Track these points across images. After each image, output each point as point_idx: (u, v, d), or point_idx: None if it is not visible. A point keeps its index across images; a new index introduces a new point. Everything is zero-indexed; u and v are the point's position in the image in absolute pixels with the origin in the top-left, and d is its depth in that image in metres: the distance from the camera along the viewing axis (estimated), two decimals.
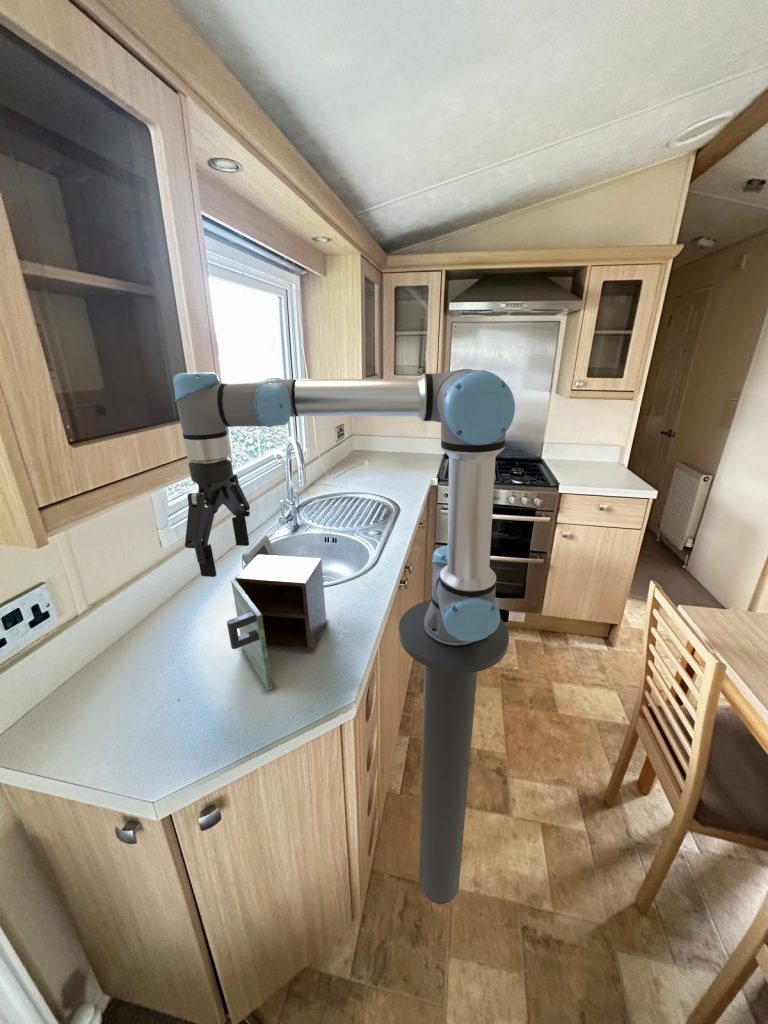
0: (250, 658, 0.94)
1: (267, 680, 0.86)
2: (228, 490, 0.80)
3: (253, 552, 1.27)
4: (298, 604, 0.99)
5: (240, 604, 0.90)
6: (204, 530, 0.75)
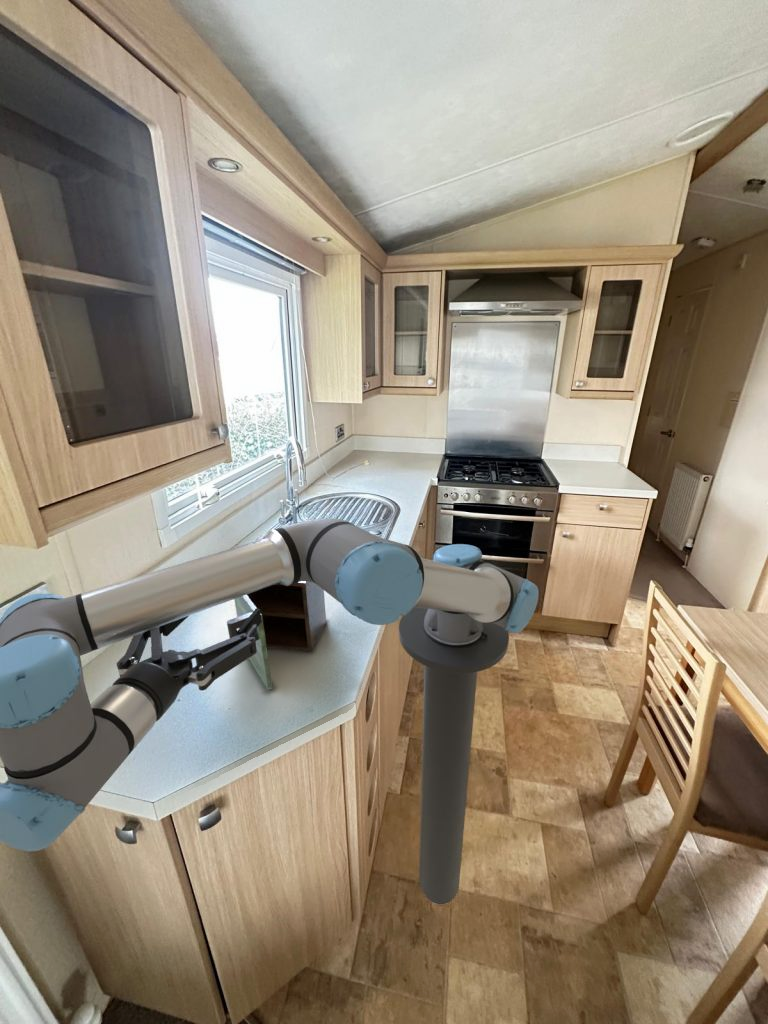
0: (250, 658, 0.94)
1: (267, 680, 0.86)
2: (156, 656, 0.58)
3: None
4: (298, 604, 0.99)
5: (240, 604, 0.90)
6: (229, 646, 0.62)
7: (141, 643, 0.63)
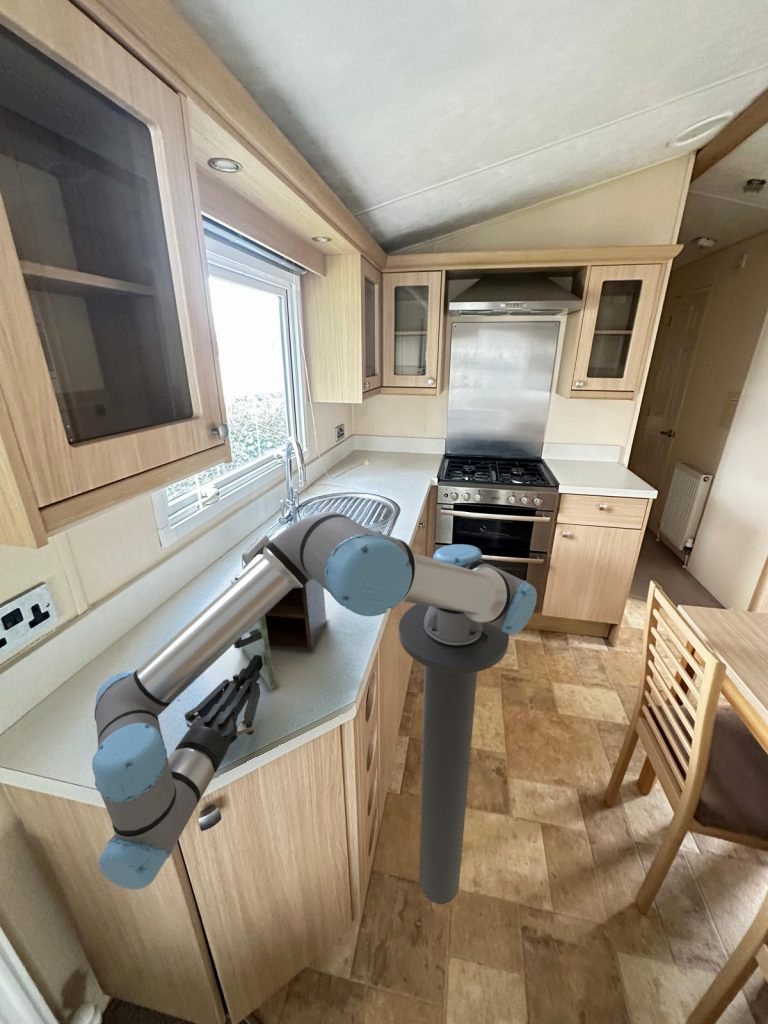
0: (251, 658, 0.95)
1: (270, 679, 0.86)
2: (208, 718, 0.70)
3: (253, 552, 1.27)
4: (298, 604, 0.99)
5: None
6: (245, 692, 0.77)
7: (215, 699, 0.76)
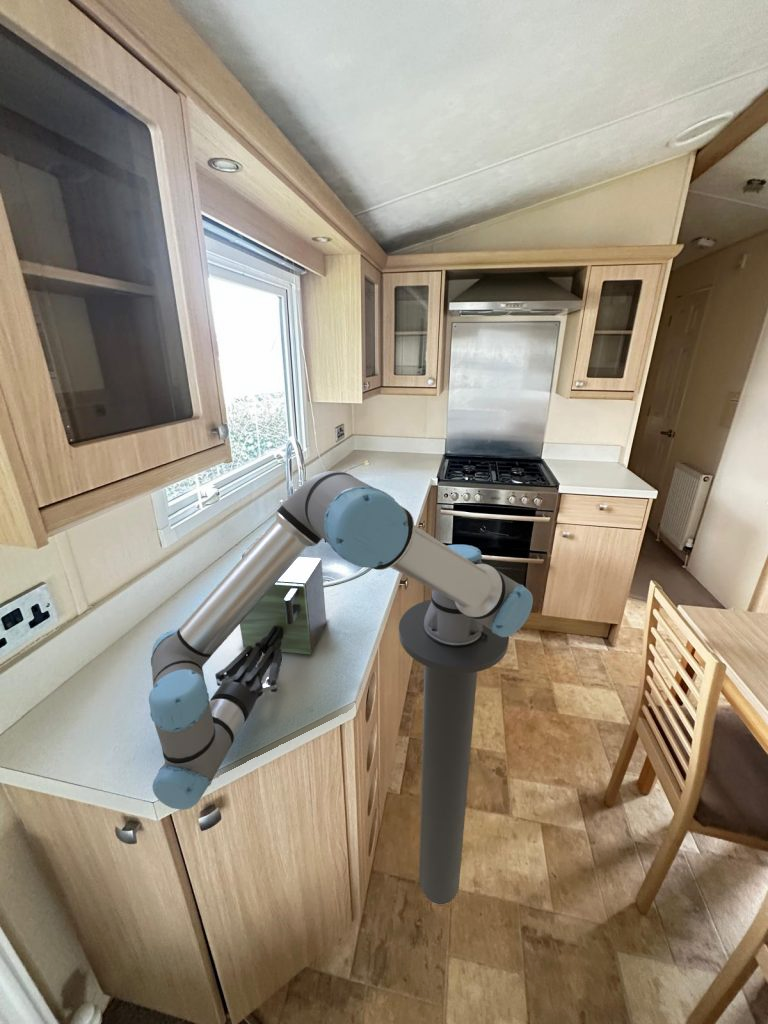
0: None
1: (309, 645, 0.96)
2: (237, 676, 0.79)
3: None
4: None
5: None
6: (269, 657, 0.86)
7: (241, 662, 0.85)
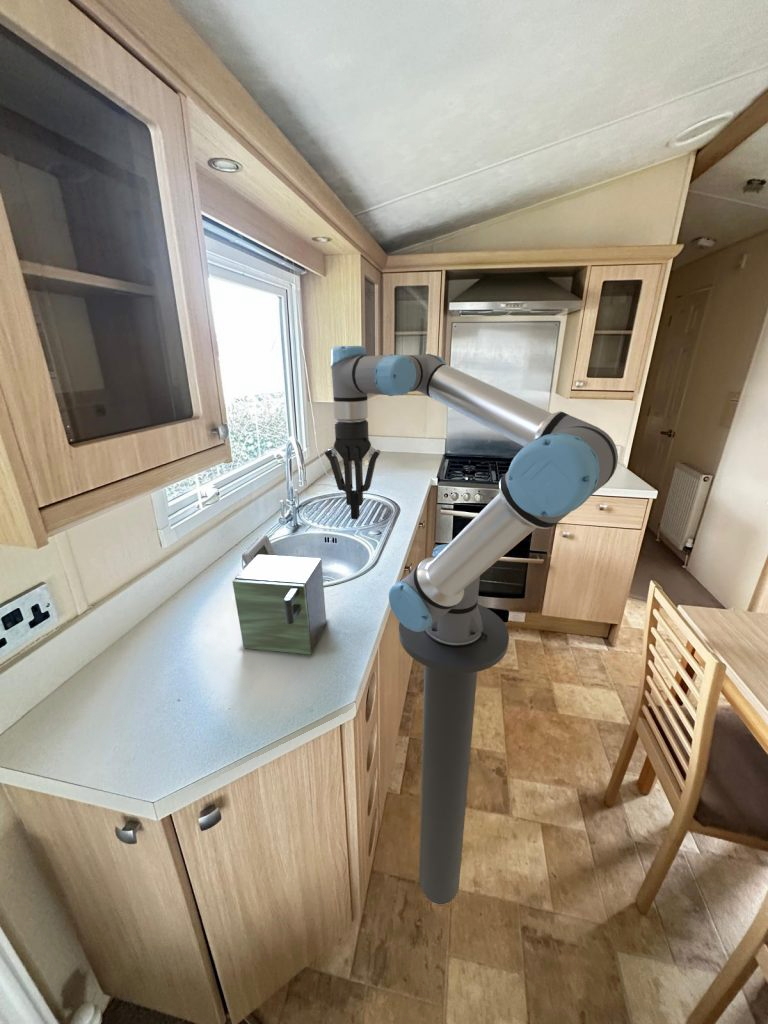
0: (266, 647, 0.98)
1: (309, 645, 0.96)
2: (355, 451, 0.92)
3: (253, 552, 1.27)
4: None
5: (255, 596, 0.93)
6: None
7: (367, 473, 0.95)
